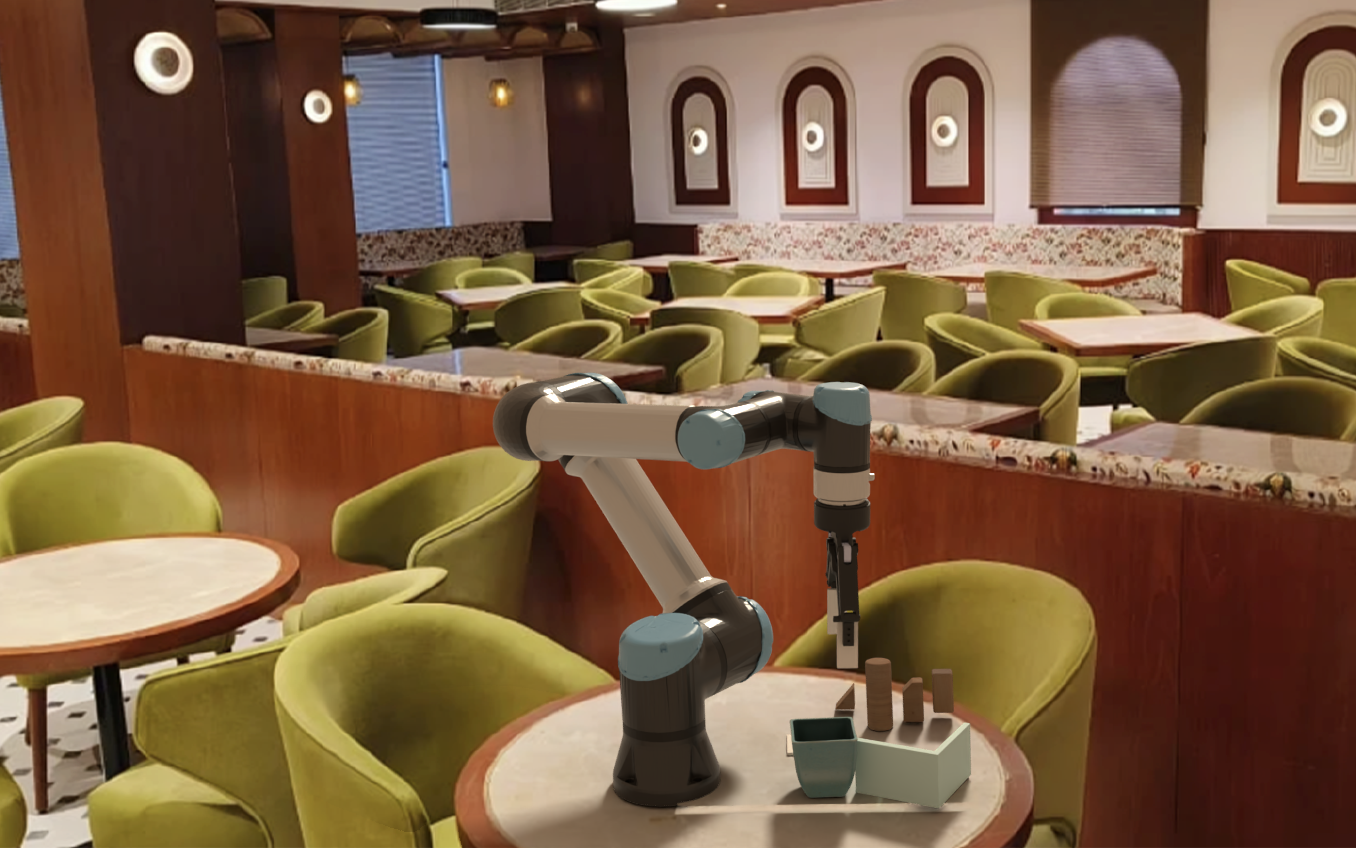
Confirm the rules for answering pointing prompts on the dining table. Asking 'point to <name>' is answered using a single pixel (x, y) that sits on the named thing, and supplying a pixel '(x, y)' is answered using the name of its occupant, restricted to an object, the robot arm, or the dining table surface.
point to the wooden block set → (912, 695)
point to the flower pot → (824, 755)
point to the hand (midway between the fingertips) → (842, 650)
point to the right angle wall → (914, 769)
